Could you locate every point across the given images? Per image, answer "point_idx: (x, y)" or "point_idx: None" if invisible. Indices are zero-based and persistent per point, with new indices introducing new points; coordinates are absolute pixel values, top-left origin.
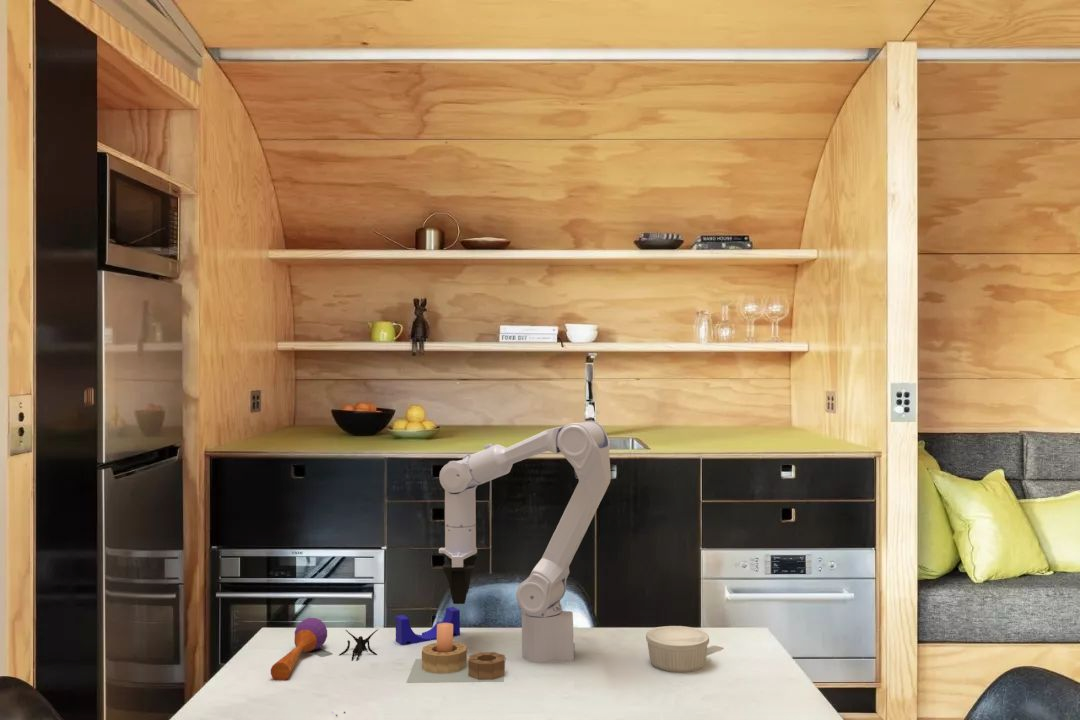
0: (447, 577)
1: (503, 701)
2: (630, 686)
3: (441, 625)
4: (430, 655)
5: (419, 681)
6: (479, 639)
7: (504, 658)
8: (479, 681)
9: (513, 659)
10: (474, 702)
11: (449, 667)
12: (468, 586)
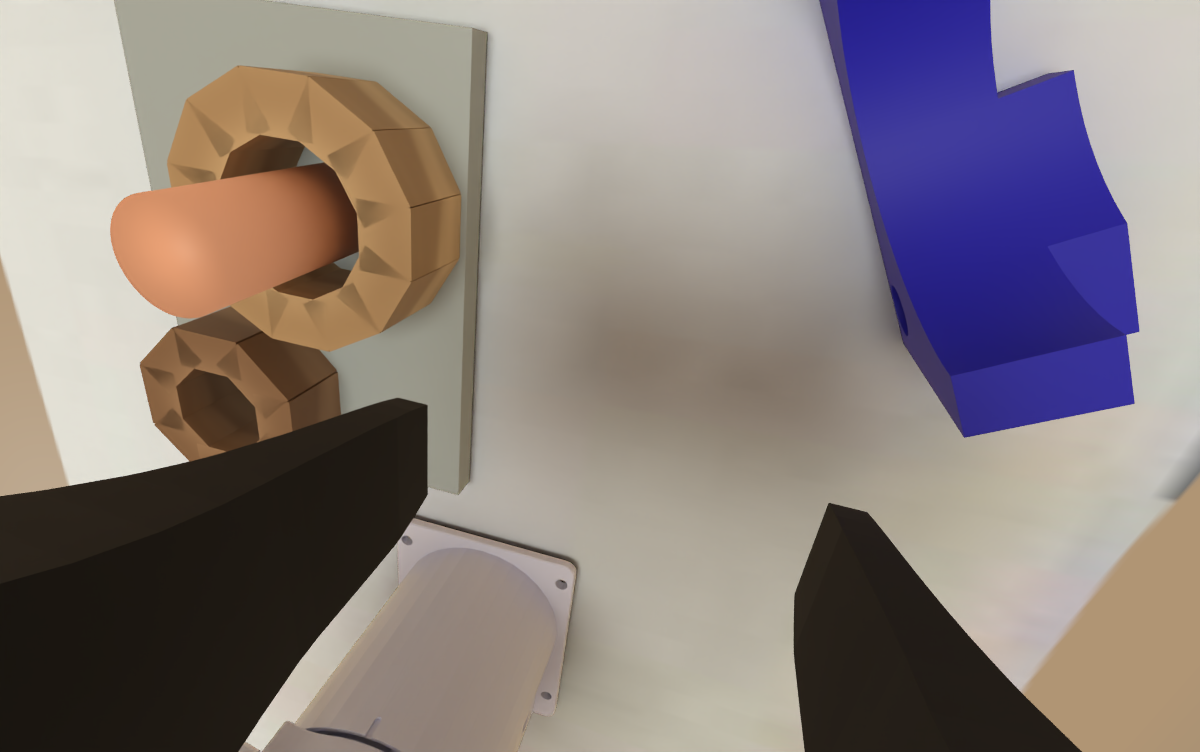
0: (1, 503)
1: (106, 386)
2: (272, 716)
3: (139, 228)
4: (181, 125)
5: (136, 59)
6: (882, 451)
7: None
8: None
9: (520, 520)
10: (75, 291)
11: None
12: (796, 662)
